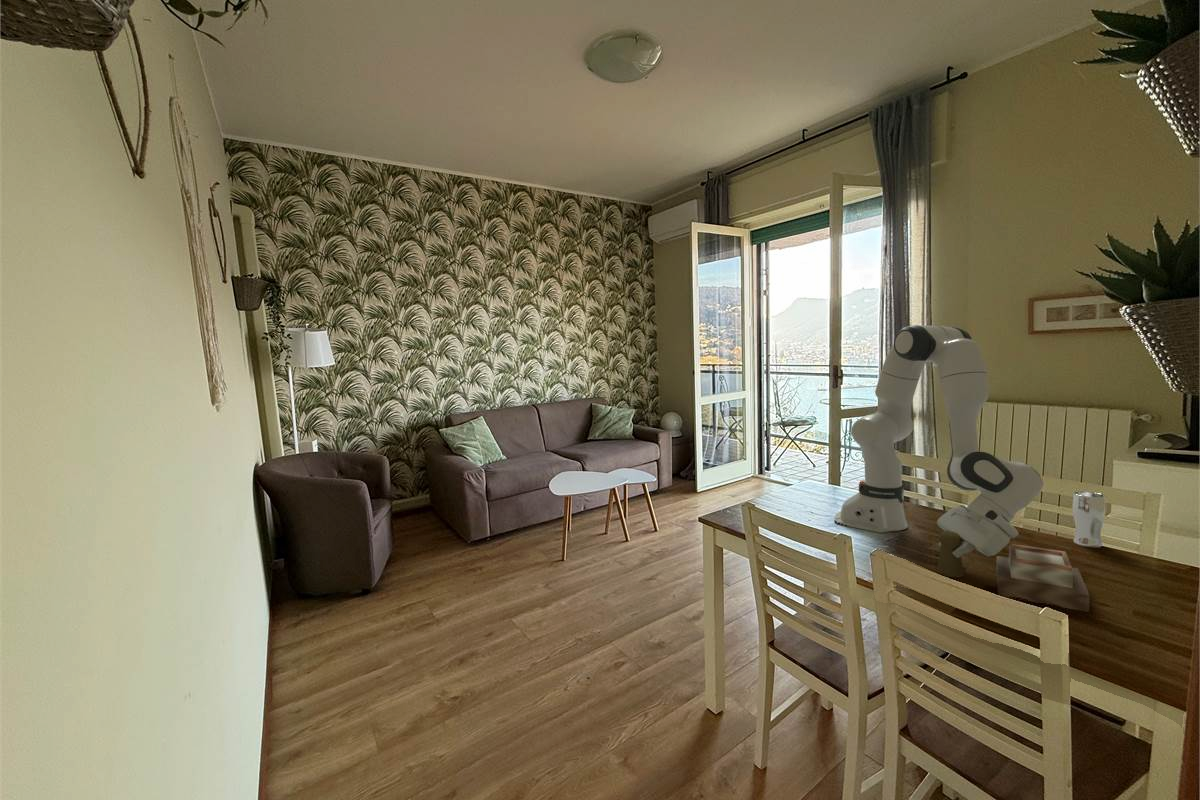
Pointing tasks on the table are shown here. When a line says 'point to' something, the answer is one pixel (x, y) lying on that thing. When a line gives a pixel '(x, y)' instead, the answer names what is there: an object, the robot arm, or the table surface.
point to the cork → (949, 555)
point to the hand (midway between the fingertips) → (947, 551)
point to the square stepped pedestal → (1041, 577)
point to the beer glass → (1088, 518)
